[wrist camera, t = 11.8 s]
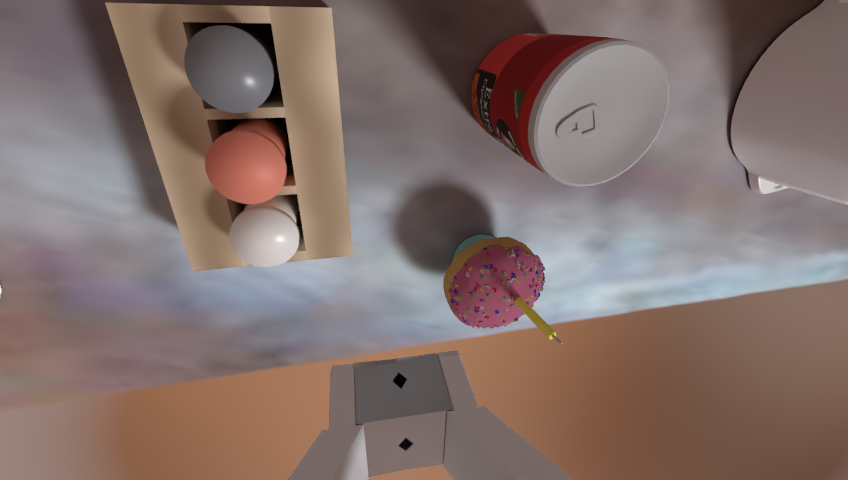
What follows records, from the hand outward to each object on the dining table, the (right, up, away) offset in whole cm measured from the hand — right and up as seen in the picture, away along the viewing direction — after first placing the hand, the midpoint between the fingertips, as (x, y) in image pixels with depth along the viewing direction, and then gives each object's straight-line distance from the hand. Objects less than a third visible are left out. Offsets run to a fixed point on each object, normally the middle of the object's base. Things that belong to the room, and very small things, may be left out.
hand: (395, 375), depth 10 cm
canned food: (+8, +15, +21) cm, 27 cm away
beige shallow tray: (-11, +10, +18) cm, 24 cm away
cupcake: (+6, +2, +28) cm, 28 cm away
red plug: (-10, +10, +17) cm, 23 cm away
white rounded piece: (-11, +6, +21) cm, 24 cm away
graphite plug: (-11, +15, +16) cm, 24 cm away
